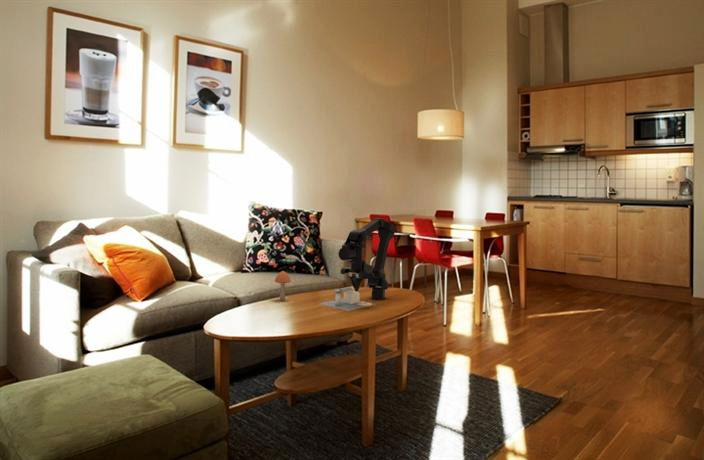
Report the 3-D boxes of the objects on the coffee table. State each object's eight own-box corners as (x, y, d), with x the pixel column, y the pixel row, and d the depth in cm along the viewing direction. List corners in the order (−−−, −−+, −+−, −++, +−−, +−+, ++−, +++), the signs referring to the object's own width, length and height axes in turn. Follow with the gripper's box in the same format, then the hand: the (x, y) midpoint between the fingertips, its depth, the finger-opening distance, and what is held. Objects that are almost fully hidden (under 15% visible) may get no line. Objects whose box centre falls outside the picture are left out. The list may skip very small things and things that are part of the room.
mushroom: (288, 302, 247) (287, 272, 246) (272, 302, 249) (272, 271, 248) (293, 299, 255) (293, 269, 254) (278, 298, 257) (277, 269, 256)
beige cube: (351, 300, 248) (351, 290, 247) (359, 302, 244) (359, 291, 243) (343, 302, 244) (343, 291, 243) (351, 304, 240) (351, 293, 240)
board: (346, 300, 254) (346, 285, 254) (376, 306, 240) (376, 291, 240) (317, 306, 241) (317, 291, 240) (347, 313, 227) (347, 297, 226)
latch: (337, 293, 234) (337, 290, 234) (332, 292, 237) (332, 289, 237) (356, 289, 243) (356, 287, 243) (351, 288, 246) (351, 286, 245)
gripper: (382, 259, 234) (382, 292, 235) (358, 254, 249) (358, 286, 250) (363, 261, 228) (363, 295, 229) (340, 256, 243) (339, 288, 244)
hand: (356, 291), depth 238 cm, fingers closed
